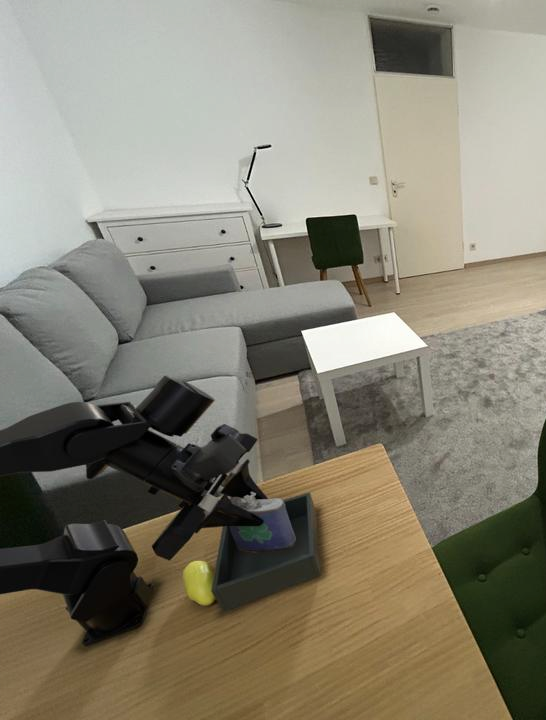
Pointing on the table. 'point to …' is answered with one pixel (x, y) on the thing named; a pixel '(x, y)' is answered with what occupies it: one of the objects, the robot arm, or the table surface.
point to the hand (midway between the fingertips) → (266, 514)
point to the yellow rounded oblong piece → (199, 582)
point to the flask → (263, 525)
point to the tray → (268, 560)
